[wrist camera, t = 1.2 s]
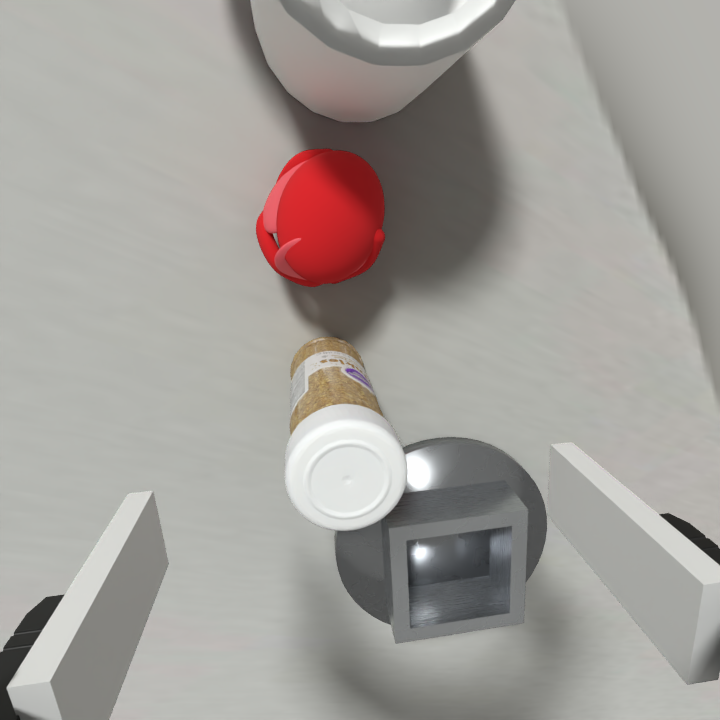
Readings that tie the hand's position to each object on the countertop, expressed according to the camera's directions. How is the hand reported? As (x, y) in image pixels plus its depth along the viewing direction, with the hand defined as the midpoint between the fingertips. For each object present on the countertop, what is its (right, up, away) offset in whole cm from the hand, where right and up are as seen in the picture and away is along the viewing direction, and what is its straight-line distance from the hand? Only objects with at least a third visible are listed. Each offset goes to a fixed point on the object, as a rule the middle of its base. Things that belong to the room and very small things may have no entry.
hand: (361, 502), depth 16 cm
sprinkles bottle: (-2, +4, +14) cm, 15 cm away
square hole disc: (+6, -8, +19) cm, 21 cm away
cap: (-2, +13, +12) cm, 18 cm away
